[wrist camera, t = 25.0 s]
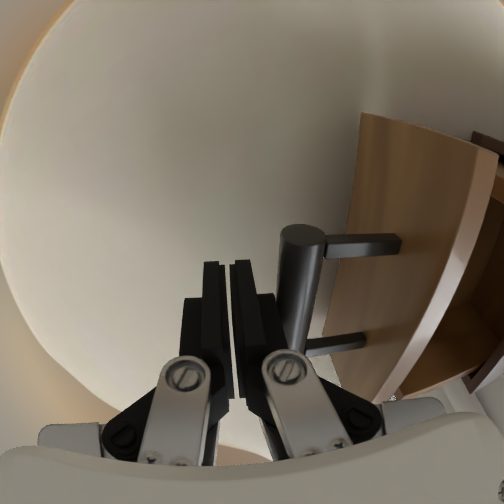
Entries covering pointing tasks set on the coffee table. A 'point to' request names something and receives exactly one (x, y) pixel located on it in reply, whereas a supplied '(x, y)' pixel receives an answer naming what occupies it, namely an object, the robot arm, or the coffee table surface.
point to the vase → (473, 400)
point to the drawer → (404, 265)
